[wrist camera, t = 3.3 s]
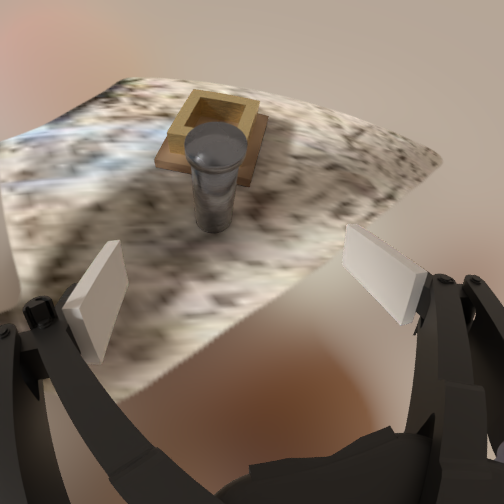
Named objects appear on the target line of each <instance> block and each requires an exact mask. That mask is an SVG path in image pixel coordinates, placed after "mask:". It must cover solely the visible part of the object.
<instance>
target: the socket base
mask: <svg viewBox="0 0 504 504" xmlns="http://www.w3.org/2000/svg"><path fill="white" fill-rule="evenodd" d="M268 117H269V116H266V115H262V114H257V119H256V122H255V125H254V128H253V131H252V135H251V138H250V141H249V144H248V147H247V151H246V156H245V159H244V161H243V163H242V166H241V167H239V169H238V176H237V183H236V184H238V185H242V186H247V187H250V183H251V179H252V175H253V172H254V168H255V164H256V161H257V157H258V154H259V150H260V146H261V143H262V139H263V136H264V132H265V129H266V125H267V121H268ZM207 122H225V123H229V124H232V125H234V126H236V127H238V125H239V123H235V122H230V121H225V120H219V119H214V118H209V117H203V116H200V118H199V120H198V122H197V124H196V126H198V125H201V124H203V123H207ZM196 126H195V127H196ZM154 161H155V165H156V167H158V168H163V169H169V170H174V171H179V172H184V173H189V174H192V172H191V165H190V164H189V163H188V161H187V159H186V157H185V155H181V154H175V153H170V150H169V144H168V137H166V139H165V140H164V142H163V144H162V146H161V148H160V150H159V151H158V153H157V155H156V157H155V159H154Z"/></svg>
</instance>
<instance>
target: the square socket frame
mask: <svg viewBox="0 0 504 504" xmlns="http://www.w3.org/2000/svg"><path fill="white" fill-rule="evenodd" d="M259 104H260V101H257V100H252V99H248V98H243V97H238V96H233V95H227V94H222V93H216V92H209V91H203V90H196V89H193V91H192V92H191V94H190V96H189V97H188V99H187V100H186V102H185V103H184V105H183V107H182V108H181V110H180V112H179V113H178V115H177V117H176V118H175V120H174V122H173V123H172V125H171V127H170V128H169V130H168V132H167V137H168V144H169V150H170V153H175V154H181V155H185V148H184V142H185V138H186V136H187V134H188V133H189V132H190V131H191V130H192V129H193V128H195V126H196V124H197V122H198V120H199V118H200V116H203V117H209V118H214V119H219V120H225V121H230V122H235V123H239V125H238V127H237V128H239V129H240V130H241V131H242V132H243V133H244V134H245V136H246V139H247V147H248V144H249V141H250V138H251V135H252V131H253V128H254V125H255V122H256V119H257V114H258V109H259ZM241 166H242V164H241V165H240V166H239V167H241Z"/></svg>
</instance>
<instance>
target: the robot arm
mask: <svg viewBox="0 0 504 504" xmlns="http://www.w3.org/2000/svg"><path fill="white" fill-rule="evenodd" d="M342 266H343V267H344V268H345V269H346V270H347V271H348V272H349V273H350V274H351V275H352V276H353V277H354V278H355V279H356V280H357V281H358V282H359V283H360V284H361V285H362V286H363V287H364V288H365V289H366V290H367V291H368V292H369V293H370V294H371V295H372V296H373V297H374V298H375V299H376V300H377V301H378V302H379V303H380V304H381V305H382V306H383V308H384V309H385V310H386V311H387V312H388V313H389V314H390V315H391V316H392V317H393V318H394V319H395V320H396V321H397V322H398V323H399V325H400V326H402V325H405V324H409V323H412V321H413V319H414V315H415V313H416V312H417V313H418V314H419V315H420V318H419V321H418V324H417V327H416V329H415V332H414V334H413V335H416V333H417V348H416V360H415V370H414V379H413V387H412V394H411V400H410V407H409V412H408V418H407V423H406V428H405V431H404V433H394V431H393V430H392V428H391V426H388V427H386V428H384V429H381V430H379V431H376V432H373V433H371V434H368V435H366V436H363V437H360V438H359V439H358V440H356V441H354V442H353V443H351V444H350V445H348V446H346V447H345V448H343V449H342V450H340V451H338V452H337V453H335V454H333V455H332V456H328V457H314V458H286V459H282V460H277V461H271V462H266V463H260V464H254V465H249V474H247V475H244V476H242V477H240V478H238V479H236V480H233V481H232V482H230V483H229V484H227V485H225V486H224V487H223V488H222V489H220V490H219V491H218V492H217V493H216V494H215V495H213V494H211V493H210V492H209V491H208V490H206V489H205V488H204V487H202V486H201V485H200V484H199V483H198V482H196V481H195V480H194V479H193V478H191V477H190V476H189V475H188V474H187V473H186V472H185V471H183V470H182V469H181V468H180V467H179V466H178V465H177V464H176V463H175V462H173V461H172V460H171V459H170V458H169V457H168V456H167V455H166V454H165V453H164V452H163V451H162V450H160V449H159V448H158V447H157V448H156V447H154V446H153V445H152V444H151V443H150V442H149V441H148V440H147V439H146V438H145V437H144V436H143V435H142V434H141V432H140V431H139V430H138V429H137V428H136V427H135V426H134V425H133V424H132V422H131V421H130V420H129V419H128V418H127V417H126V415H125V414H124V413H123V412H122V411H121V409H120V408H119V407H118V406H117V404H116V403H115V402H114V401H113V399H112V398H111V397H110V396H109V394H108V393H107V392H106V390H105V389H104V388H103V386H102V385H101V384H100V382H99V381H98V379H97V378H96V377H95V375H94V374H93V372H92V371H91V370H90V368H89V367H88V365H87V364H93V365H102V362H103V359H104V356H105V352H106V349H107V346H108V343H109V339H110V336H111V333H112V330H113V327H114V324H115V321H116V318H117V315H118V313H119V310H120V307H121V304H122V301H123V299H124V296H125V293H126V291H127V288H128V285H129V282H128V277H127V272H126V268H125V263H124V258H123V253H122V247H121V242H120V240H113V241H107V243H106V244H105V245H104V247H103V248H102V249H101V251H100V252H99V254H98V255H97V256H96V258H95V259H94V261H93V262H92V263H91V265H90V266H89V268H88V269H87V271H86V272H85V274H84V275H83V277H82V278H81V280H80V281H79V283H74V284H72V285H71V286H70V287H69V288H67V289H66V291H65V292H64V294H63V295H62V297H61V298H60V300H59V302H58V303H57V304H56V306H55V307H54V305H53V302H52V299H51V298H50V297H49V296H39V297H36V298H33V299H32V300H30V301H29V302H27V303H26V304H25V306H24V307H23V313H24V316H25V318H26V320H27V322H28V325H29V327H30V329H31V330H30V331H26V332H22V333H18V331H17V329H16V327H15V325H13V324H5V325H1V326H0V504H71V503H70V500H69V498H68V495H67V492H66V489H65V486H64V483H63V480H62V477H61V473H60V471H59V467H58V463H57V459H56V456H55V452H54V447H53V443H52V438H51V434H50V429H49V423H48V419H47V412H46V405H45V398H44V390H43V380H42V379H46V378H50V379H51V381H52V384H53V386H54V388H55V390H56V392H57V394H58V396H59V398H60V400H61V402H62V404H63V405H64V407H65V409H66V411H67V413H68V415H69V416H70V418H71V420H72V422H73V424H74V425H75V427H76V429H77V430H78V432H79V434H80V435H81V437H82V438H83V440H84V441H85V443H86V445H87V446H88V447H89V449H90V451H91V452H92V453H93V455H94V457H95V458H96V459H97V461H98V462H99V464H100V465H101V466H102V468H103V469H104V470H105V472H106V473H107V474H108V476H109V481H110V482H111V484H112V485H113V486H114V488H115V489H116V490H117V491H118V493H119V494H120V495H121V496H122V498H123V499H124V500H125V501H126V502H127V503H128V504H504V307H503V305H502V304H501V303H500V301H499V300H498V298H497V297H496V296H495V294H494V293H493V292H492V291H491V289H490V288H489V287H488V285H487V284H486V283H485V281H483V280H482V279H481V278H480V277H478V276H476V275H466V277H465V279H464V282H463V284H456V282H455V280H454V279H453V278H451V277H449V276H447V275H444V274H435V275H432V274H430V273H429V272H428V271H426V270H425V269H424V268H422V267H421V266H419V265H418V264H417V263H415V262H414V261H412V260H411V259H409V258H408V257H407V256H405V255H404V254H402V253H401V252H399V251H398V250H397V249H395V248H394V247H392V246H391V245H389V244H388V243H386V242H385V241H383V240H381V239H380V238H379V237H377V236H376V235H374V234H373V233H371V232H370V231H368V230H366V229H365V228H363V227H362V226H360V225H359V224H347V225H346V234H345V243H344V251H343V258H342ZM475 313H476V316H475V319H474V320H473V318H474V315H475ZM81 355H82V356H81ZM82 357H83V358H82ZM487 434H488V437H489V441H490V443H491V446H492V449H493V451H494V453H495V455H496V459H494V460H491V459H488V458H487Z"/></svg>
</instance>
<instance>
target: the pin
mask: <svg viewBox="0 0 504 504" xmlns="http://www.w3.org/2000/svg"><path fill="white" fill-rule="evenodd" d="M184 148H185V157H186V159H187V161H188V163H189V164H190V165H191V172H192V184H193V195H194V206H195V216H196V222H197V224H198V226H199V227H200V228H201V229H202V230H204V231H206V232H209V233H218V232H221V231H223V230H225V229H226V228H227V227H228V226H229V224H230V222H231V218H232V211H233V204H234V197H235V190H236V183H237V176H238V169H239V166H240V165H241V164H242V163H243V161H244V159H245V156H246V151H247V139H246V136H245V134H244V133H243V132H242V131H241V130H240V129H239V128H237V127H236V126H234V125H232V124H229V123H225V122H207V123H203V124H201V125H198V126H196V127H195V128H193V129H192V130H191V131H190V132H189V133H188V134H187V136H186V138H185V142H184Z"/></svg>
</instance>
